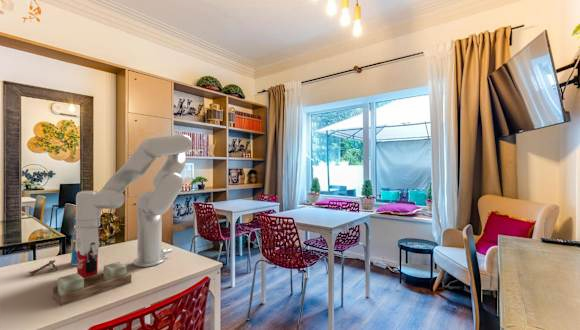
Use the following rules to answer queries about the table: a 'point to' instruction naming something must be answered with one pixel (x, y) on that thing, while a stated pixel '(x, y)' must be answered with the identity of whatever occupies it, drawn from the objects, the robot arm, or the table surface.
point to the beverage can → (82, 265)
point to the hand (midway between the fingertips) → (87, 269)
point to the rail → (90, 283)
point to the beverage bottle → (73, 245)
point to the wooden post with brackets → (44, 267)
